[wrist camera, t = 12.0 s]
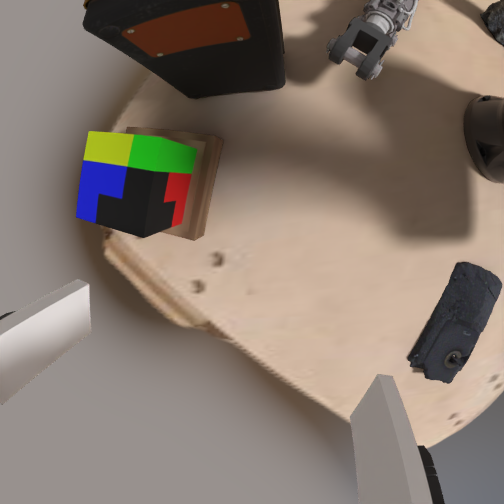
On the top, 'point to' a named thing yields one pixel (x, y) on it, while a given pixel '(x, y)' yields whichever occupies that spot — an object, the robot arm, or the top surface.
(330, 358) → the top surface
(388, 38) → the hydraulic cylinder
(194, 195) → the plinth
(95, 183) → the puzzle toy
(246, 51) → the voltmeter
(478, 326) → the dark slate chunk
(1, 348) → the robot arm
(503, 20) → the stone block
